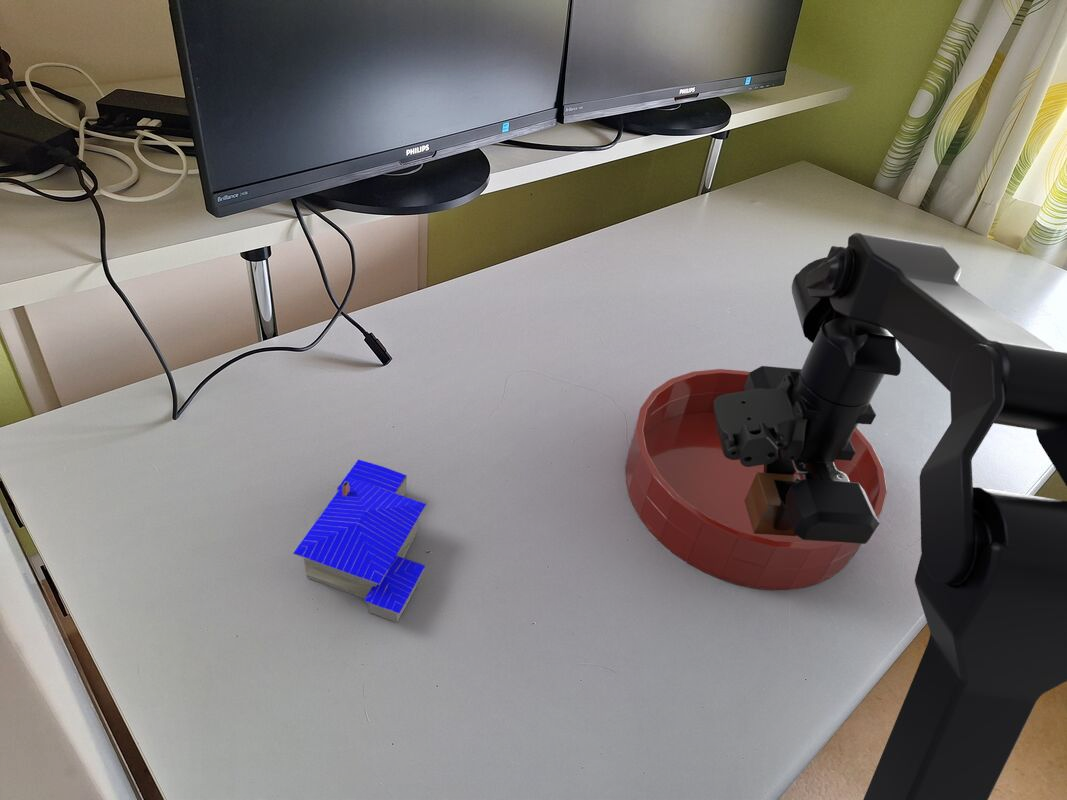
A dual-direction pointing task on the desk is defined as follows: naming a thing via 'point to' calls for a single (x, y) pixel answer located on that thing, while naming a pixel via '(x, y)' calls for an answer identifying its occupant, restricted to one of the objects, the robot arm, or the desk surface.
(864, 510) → the robot arm
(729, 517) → the red round bowl
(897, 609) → the desk surface
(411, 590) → the house
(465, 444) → the desk surface
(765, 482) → the block
